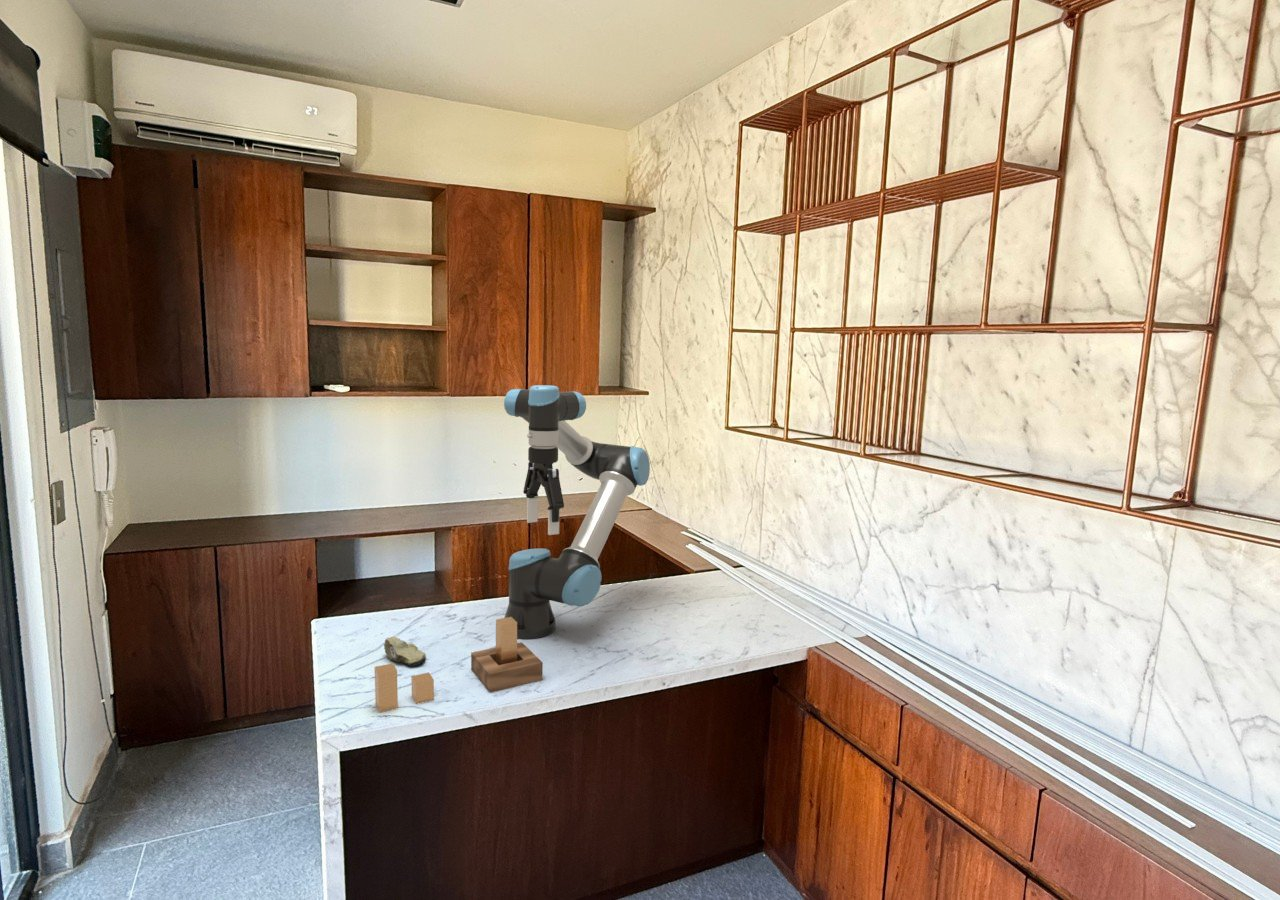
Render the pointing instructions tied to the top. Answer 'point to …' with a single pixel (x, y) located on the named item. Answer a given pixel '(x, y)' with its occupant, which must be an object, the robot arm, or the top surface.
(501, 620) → the long pin
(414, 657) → the rock
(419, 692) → the short pin
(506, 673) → the hole block
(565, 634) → the top surface
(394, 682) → the medium pin
